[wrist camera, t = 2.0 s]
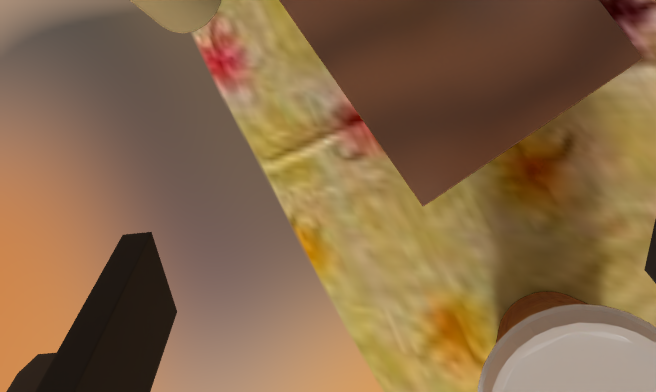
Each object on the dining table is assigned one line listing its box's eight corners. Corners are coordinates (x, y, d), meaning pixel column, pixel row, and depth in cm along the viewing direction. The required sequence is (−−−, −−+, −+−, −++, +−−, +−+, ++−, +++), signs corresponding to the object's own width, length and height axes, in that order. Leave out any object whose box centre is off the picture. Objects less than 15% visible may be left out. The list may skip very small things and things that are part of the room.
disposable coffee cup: (659, 381, 34) (763, 488, 22) (513, 435, 36) (538, 559, 25) (586, 241, 35) (650, 274, 23) (446, 302, 37) (440, 361, 25)
